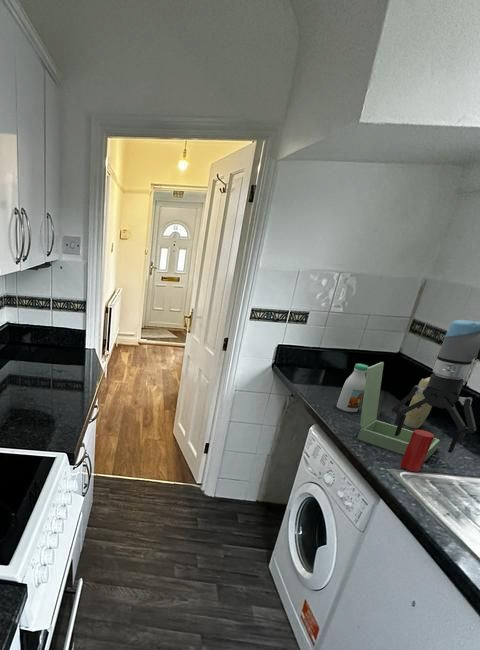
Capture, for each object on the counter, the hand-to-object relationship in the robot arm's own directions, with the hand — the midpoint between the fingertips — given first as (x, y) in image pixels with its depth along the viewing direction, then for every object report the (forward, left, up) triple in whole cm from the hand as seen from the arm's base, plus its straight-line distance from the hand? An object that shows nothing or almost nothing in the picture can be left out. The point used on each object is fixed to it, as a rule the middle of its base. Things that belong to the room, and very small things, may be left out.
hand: (422, 442), depth 126 cm
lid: (+20, -13, +7) cm, 25 cm away
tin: (+1, 0, -9) cm, 9 cm away
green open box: (+8, -13, -9) cm, 18 cm away
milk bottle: (+32, -34, -9) cm, 48 cm away
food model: (+10, -40, -9) cm, 42 cm away
